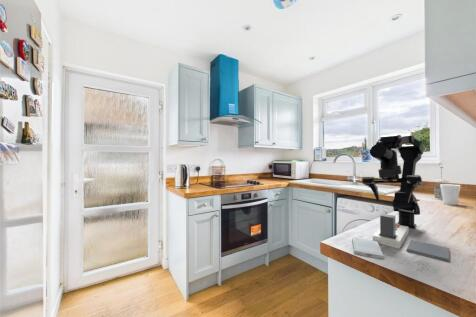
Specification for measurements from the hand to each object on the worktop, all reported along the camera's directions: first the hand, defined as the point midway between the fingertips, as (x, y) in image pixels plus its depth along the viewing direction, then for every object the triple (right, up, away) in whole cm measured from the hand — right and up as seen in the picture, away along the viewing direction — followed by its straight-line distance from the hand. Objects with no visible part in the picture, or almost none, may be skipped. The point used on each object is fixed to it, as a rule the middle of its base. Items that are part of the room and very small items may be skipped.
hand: (392, 202), depth 79 cm
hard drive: (-15, -15, -8) cm, 23 cm away
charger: (-4, -14, -3) cm, 15 cm away
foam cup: (+85, -14, +59) cm, 105 cm away
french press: (+95, -14, +75) cm, 122 cm away
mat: (+5, -14, -10) cm, 18 cm away
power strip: (+2, -14, +3) cm, 15 cm away
